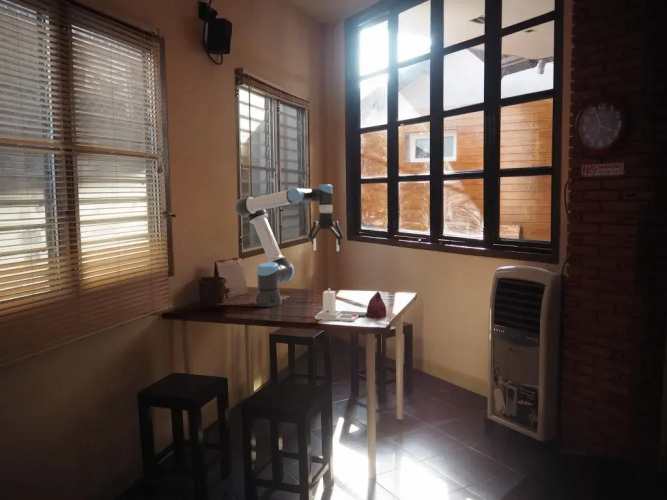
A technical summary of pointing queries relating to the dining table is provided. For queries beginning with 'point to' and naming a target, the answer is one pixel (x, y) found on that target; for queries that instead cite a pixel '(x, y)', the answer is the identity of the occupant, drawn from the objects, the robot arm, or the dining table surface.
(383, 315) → the vegetable
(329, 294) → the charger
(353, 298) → the dining table surface
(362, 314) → the phone
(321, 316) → the white base tray
